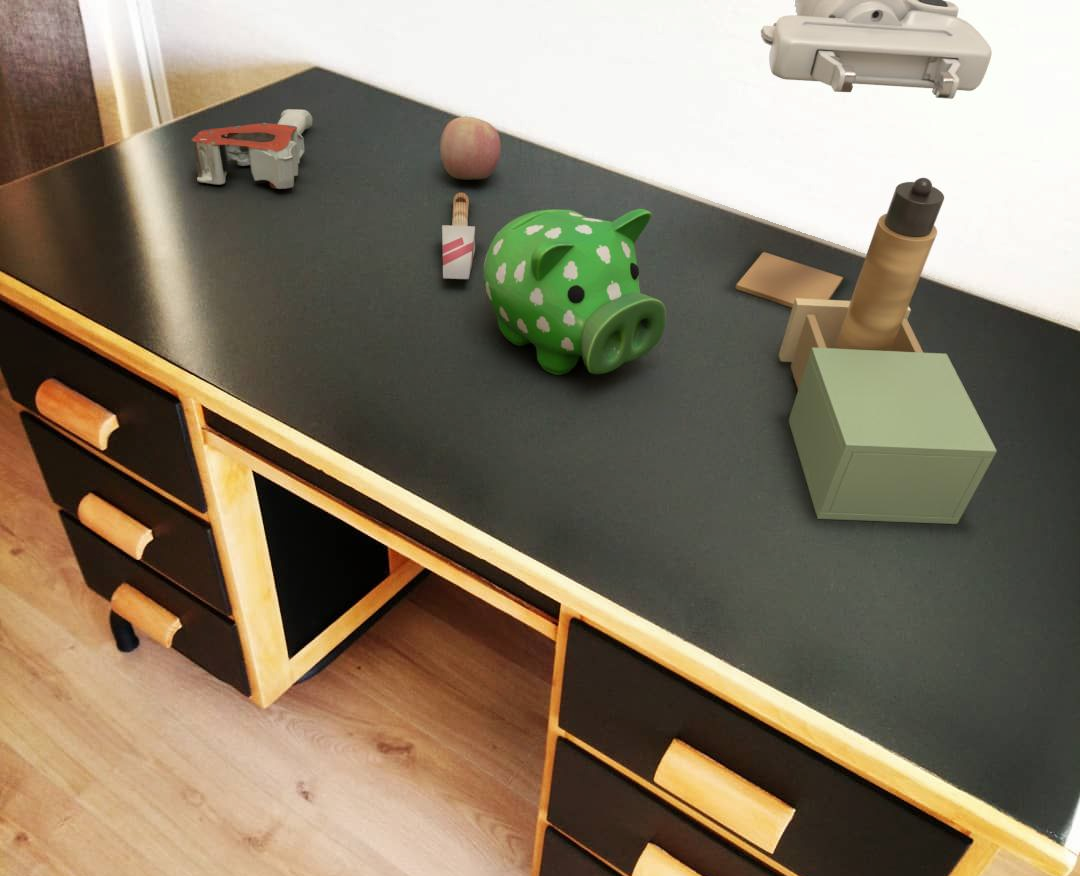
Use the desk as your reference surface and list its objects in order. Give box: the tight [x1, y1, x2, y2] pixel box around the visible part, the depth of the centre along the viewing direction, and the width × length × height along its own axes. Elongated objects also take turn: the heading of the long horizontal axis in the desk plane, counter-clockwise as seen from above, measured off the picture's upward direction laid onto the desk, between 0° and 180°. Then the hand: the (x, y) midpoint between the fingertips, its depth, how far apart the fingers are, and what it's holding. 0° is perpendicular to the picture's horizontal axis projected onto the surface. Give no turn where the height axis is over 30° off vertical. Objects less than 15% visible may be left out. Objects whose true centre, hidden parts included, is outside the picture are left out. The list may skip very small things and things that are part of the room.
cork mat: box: [735, 251, 844, 309], centre depth 109 cm, size 10×9×1 cm
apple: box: [439, 116, 502, 181], centre depth 120 cm, size 8×8×8 cm
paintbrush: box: [441, 192, 476, 280], centre depth 110 cm, size 4×3×20 cm
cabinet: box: [788, 348, 998, 525], centre depth 84 cm, size 14×13×9 cm
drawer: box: [778, 298, 924, 390], centre depth 92 cm, size 14×11×7 cm
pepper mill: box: [834, 177, 945, 351], centre depth 85 cm, size 5×5×21 cm
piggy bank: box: [482, 208, 667, 376], centre depth 92 cm, size 14×18×15 cm
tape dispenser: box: [190, 108, 314, 190], centre depth 120 cm, size 18×5×20 cm
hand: (897, 86), depth 84 cm, fingers open, 8 cm apart
